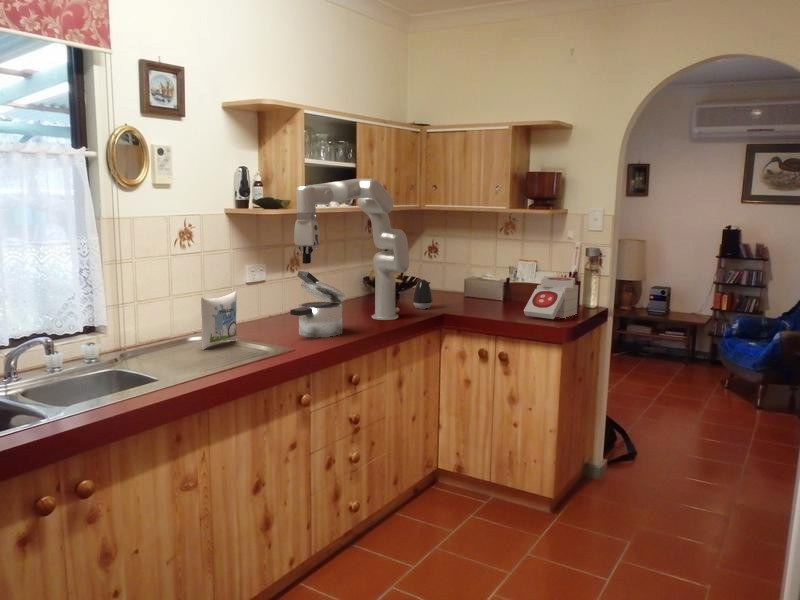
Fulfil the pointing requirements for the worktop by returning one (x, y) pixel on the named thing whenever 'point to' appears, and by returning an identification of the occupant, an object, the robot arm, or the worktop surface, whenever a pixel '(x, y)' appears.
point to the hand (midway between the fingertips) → (306, 263)
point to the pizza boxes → (553, 298)
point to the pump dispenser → (422, 295)
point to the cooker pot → (319, 319)
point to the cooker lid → (320, 288)
